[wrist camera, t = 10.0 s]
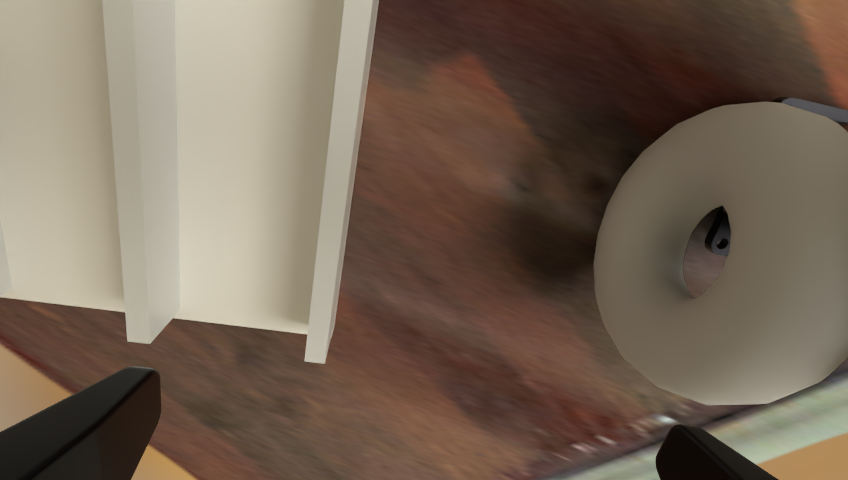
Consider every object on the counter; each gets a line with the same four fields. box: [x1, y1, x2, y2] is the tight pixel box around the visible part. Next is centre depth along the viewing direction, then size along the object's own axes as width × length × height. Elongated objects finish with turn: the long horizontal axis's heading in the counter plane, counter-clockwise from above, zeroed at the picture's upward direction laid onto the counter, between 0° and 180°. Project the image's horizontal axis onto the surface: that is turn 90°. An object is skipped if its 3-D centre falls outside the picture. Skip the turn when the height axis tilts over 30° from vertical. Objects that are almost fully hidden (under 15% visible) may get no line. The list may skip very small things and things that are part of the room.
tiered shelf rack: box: [0, 0, 379, 364], centre depth 15 cm, size 14×17×4 cm
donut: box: [593, 102, 848, 405], centre depth 14 cm, size 10×3×10 cm, turn 166°
